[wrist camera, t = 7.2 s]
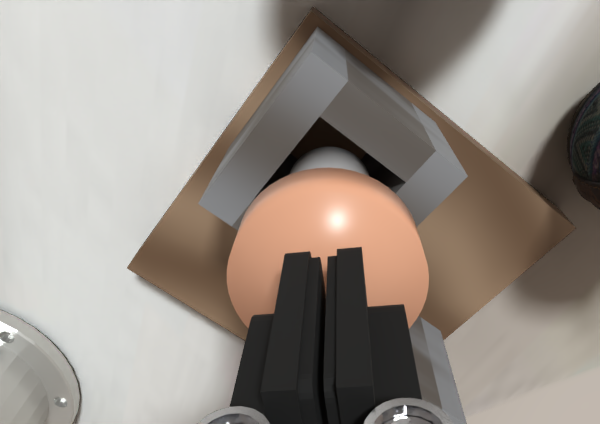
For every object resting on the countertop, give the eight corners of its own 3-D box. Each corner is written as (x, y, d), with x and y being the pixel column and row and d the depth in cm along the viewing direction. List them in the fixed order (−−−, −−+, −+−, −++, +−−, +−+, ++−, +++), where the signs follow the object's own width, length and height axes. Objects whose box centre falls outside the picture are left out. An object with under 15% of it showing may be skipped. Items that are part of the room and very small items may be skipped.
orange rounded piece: (339, 269, 19) (341, 389, 14) (231, 195, 18) (189, 295, 13) (430, 175, 17) (473, 273, 12) (316, 86, 16) (307, 150, 11)
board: (358, 385, 32) (365, 510, 24) (140, 248, 28) (73, 347, 21) (559, 209, 26) (646, 307, 18) (313, 6, 22) (302, 30, 15)
